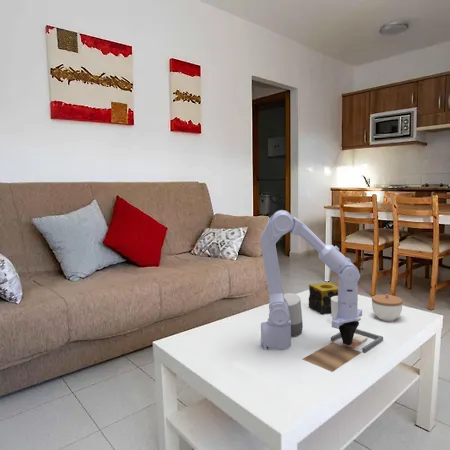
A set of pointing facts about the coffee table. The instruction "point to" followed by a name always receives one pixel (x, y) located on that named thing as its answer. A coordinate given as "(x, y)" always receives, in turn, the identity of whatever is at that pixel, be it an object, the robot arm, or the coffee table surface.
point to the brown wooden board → (332, 356)
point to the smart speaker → (294, 313)
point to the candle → (322, 296)
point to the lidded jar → (387, 307)
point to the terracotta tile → (354, 343)
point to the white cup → (334, 306)
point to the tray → (377, 338)
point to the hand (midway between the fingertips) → (347, 343)
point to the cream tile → (360, 338)
